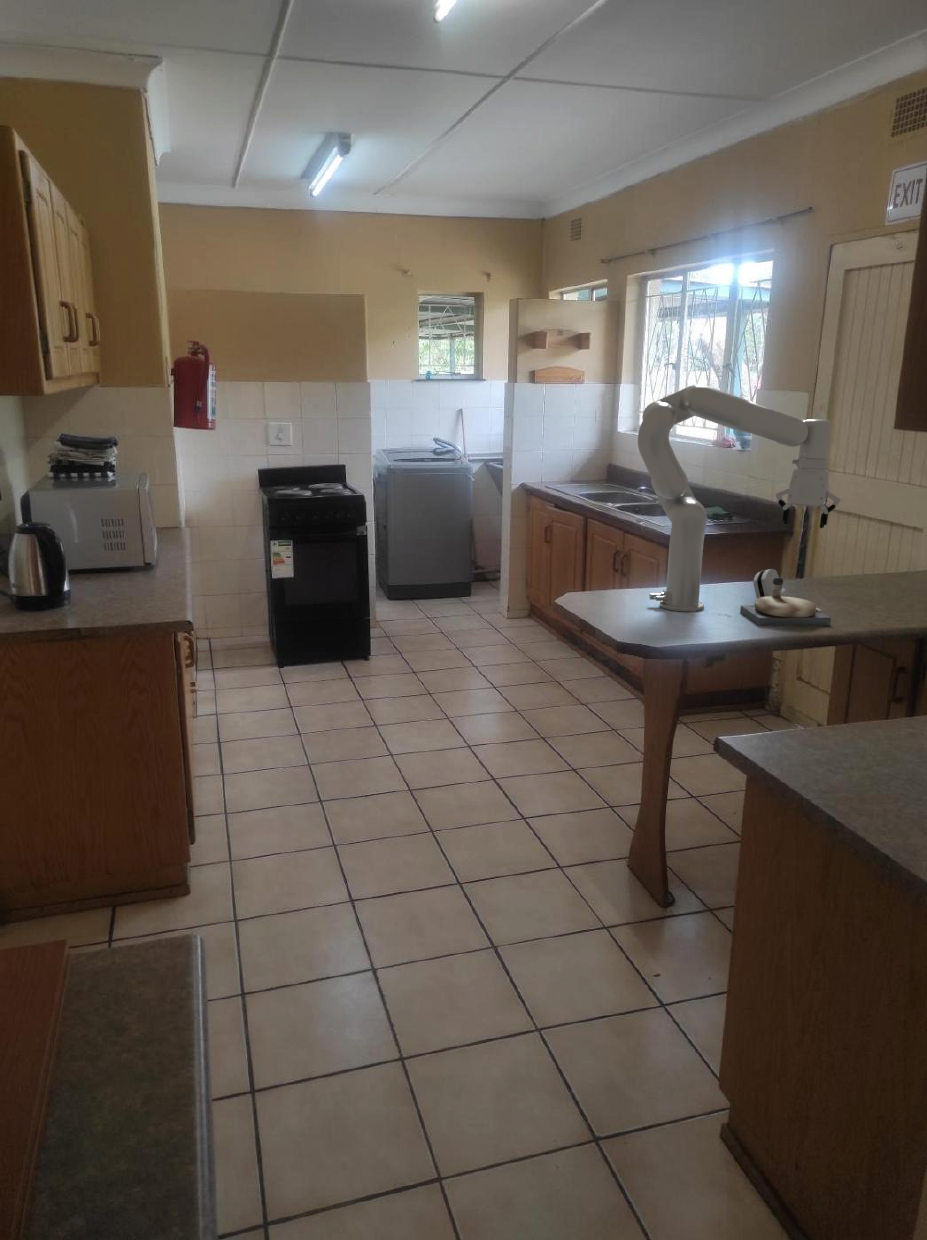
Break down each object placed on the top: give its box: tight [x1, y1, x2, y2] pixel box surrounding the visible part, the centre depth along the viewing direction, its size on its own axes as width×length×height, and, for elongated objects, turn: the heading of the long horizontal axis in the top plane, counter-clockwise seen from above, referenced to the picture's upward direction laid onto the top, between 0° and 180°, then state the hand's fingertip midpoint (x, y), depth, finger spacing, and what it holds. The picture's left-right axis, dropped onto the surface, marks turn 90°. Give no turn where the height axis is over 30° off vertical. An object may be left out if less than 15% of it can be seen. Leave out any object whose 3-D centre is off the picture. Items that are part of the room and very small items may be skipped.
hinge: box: [752, 568, 788, 599], centre depth 267 cm, size 17×5×10 cm, turn 148°
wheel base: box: [739, 604, 832, 627], centre depth 244 cm, size 20×14×3 cm
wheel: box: [754, 576, 817, 617], centre depth 243 cm, size 16×16×8 cm
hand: (804, 525), depth 248 cm, fingers open, 9 cm apart
